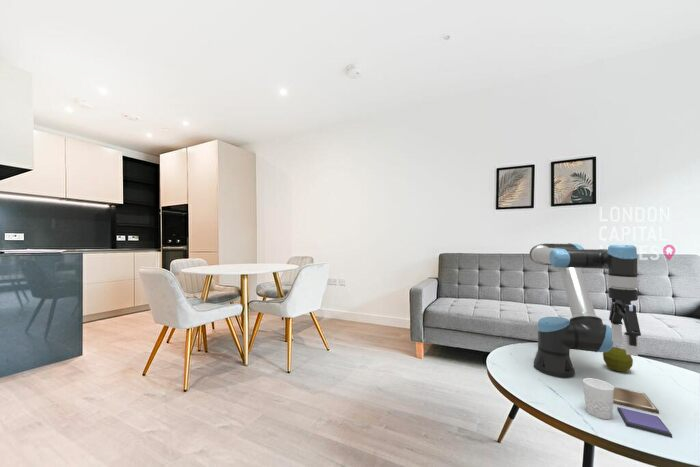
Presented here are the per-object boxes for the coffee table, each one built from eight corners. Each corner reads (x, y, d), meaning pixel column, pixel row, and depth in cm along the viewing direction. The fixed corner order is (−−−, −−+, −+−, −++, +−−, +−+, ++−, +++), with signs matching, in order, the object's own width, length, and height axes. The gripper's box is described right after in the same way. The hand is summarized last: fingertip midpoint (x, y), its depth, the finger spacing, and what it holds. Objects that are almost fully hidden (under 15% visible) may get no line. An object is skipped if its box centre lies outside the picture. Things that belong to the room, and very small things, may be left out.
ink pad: (626, 426, 89) (626, 421, 89) (617, 409, 98) (617, 406, 98) (672, 437, 84) (672, 433, 84) (658, 419, 92) (658, 415, 93)
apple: (613, 374, 124) (612, 349, 124) (597, 364, 134) (597, 341, 134) (639, 376, 122) (638, 350, 123) (621, 366, 132) (621, 342, 132)
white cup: (577, 407, 99) (577, 378, 100) (598, 406, 100) (597, 377, 100) (599, 421, 91) (598, 390, 92) (621, 420, 92) (620, 389, 92)
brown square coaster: (608, 402, 102) (608, 398, 102) (599, 386, 113) (599, 383, 113) (658, 413, 96) (658, 410, 96) (644, 395, 107) (644, 392, 107)
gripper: (654, 294, 88) (655, 363, 87) (623, 284, 110) (624, 339, 109) (622, 292, 91) (623, 358, 90) (598, 282, 113) (599, 336, 112)
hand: (623, 348), depth 100 cm, fingers open, 13 cm apart
